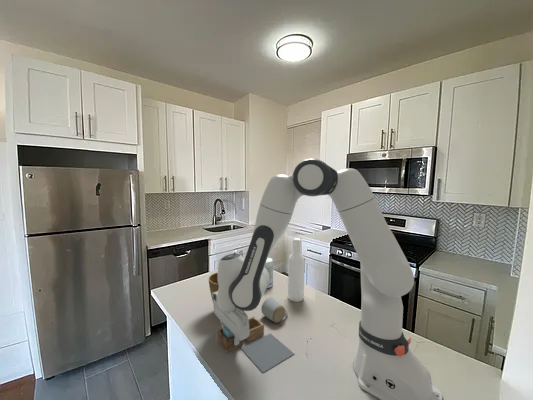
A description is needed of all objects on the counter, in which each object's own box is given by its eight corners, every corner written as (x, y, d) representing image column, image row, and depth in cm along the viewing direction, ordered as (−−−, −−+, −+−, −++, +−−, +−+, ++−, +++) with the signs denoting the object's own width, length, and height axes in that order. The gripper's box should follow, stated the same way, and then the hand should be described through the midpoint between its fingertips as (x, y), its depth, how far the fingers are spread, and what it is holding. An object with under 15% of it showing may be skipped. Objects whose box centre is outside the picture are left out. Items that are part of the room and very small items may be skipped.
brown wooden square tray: (243, 344, 82) (243, 333, 81) (226, 352, 78) (226, 340, 77) (234, 334, 87) (234, 324, 87) (217, 342, 83) (217, 330, 83)
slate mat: (294, 354, 77) (294, 353, 77) (262, 373, 69) (262, 372, 69) (270, 334, 87) (270, 333, 87) (240, 348, 80) (240, 347, 80)
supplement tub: (276, 285, 130) (276, 259, 129) (264, 290, 123) (264, 263, 122) (264, 280, 137) (264, 255, 136) (252, 285, 130) (252, 259, 129)
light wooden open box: (263, 335, 87) (263, 324, 87) (249, 342, 83) (249, 331, 83) (253, 326, 92) (253, 316, 92) (239, 333, 88) (239, 322, 88)
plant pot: (222, 326, 92) (222, 287, 91) (202, 312, 102) (201, 277, 101) (249, 311, 103) (250, 276, 102) (228, 300, 113) (228, 268, 112)
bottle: (303, 302, 111) (305, 241, 109) (287, 301, 112) (288, 240, 110) (303, 294, 119) (305, 237, 117) (288, 293, 120) (289, 236, 118)
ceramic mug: (273, 326, 92) (273, 308, 92) (260, 317, 98) (261, 300, 98) (292, 317, 99) (292, 300, 98) (279, 309, 105) (279, 293, 105)
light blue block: (238, 342, 82) (238, 328, 81) (228, 347, 79) (228, 332, 79) (232, 336, 85) (232, 322, 85) (222, 341, 83) (222, 326, 82)
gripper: (254, 310, 75) (254, 350, 76) (225, 287, 91) (225, 320, 92) (237, 316, 71) (237, 359, 72) (210, 291, 87) (210, 326, 88)
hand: (230, 337), depth 82 cm, fingers closed on brown wooden square tray, 7 cm apart
